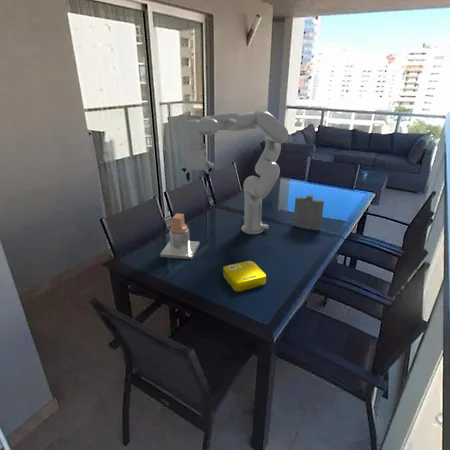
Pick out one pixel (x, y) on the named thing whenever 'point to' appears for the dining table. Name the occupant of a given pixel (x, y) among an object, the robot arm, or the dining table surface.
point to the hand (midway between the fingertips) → (198, 180)
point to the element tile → (244, 275)
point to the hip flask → (308, 213)
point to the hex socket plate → (180, 246)
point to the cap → (178, 224)
